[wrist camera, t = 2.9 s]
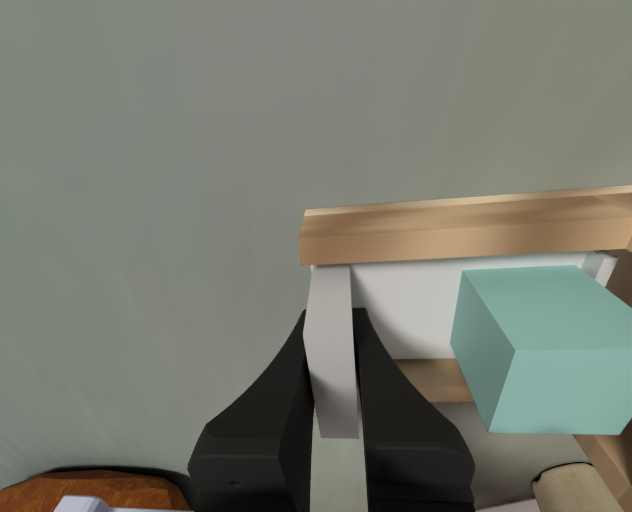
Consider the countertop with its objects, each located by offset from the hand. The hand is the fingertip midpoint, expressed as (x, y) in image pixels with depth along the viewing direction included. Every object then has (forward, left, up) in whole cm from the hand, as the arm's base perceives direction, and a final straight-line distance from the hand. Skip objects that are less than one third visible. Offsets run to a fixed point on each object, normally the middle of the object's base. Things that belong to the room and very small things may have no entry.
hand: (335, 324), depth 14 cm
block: (-8, 0, -1) cm, 8 cm away
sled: (-5, 0, -2) cm, 5 cm away
